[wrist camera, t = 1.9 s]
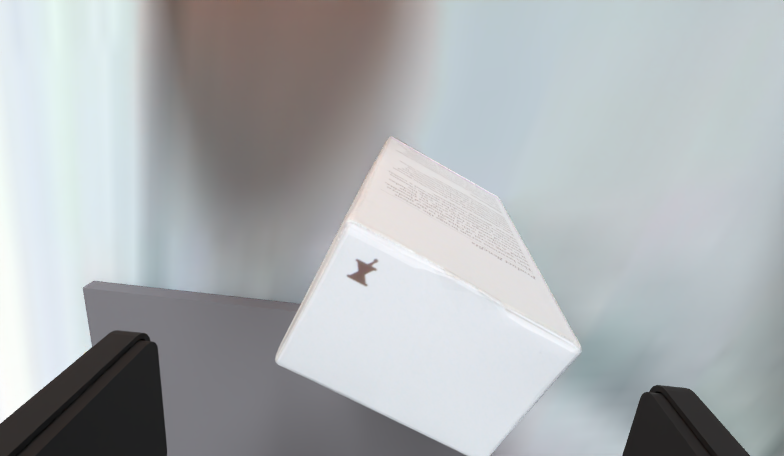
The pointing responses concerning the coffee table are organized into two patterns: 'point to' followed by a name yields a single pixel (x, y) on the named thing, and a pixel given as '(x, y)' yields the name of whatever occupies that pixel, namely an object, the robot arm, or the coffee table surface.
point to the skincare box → (431, 308)
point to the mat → (242, 379)
